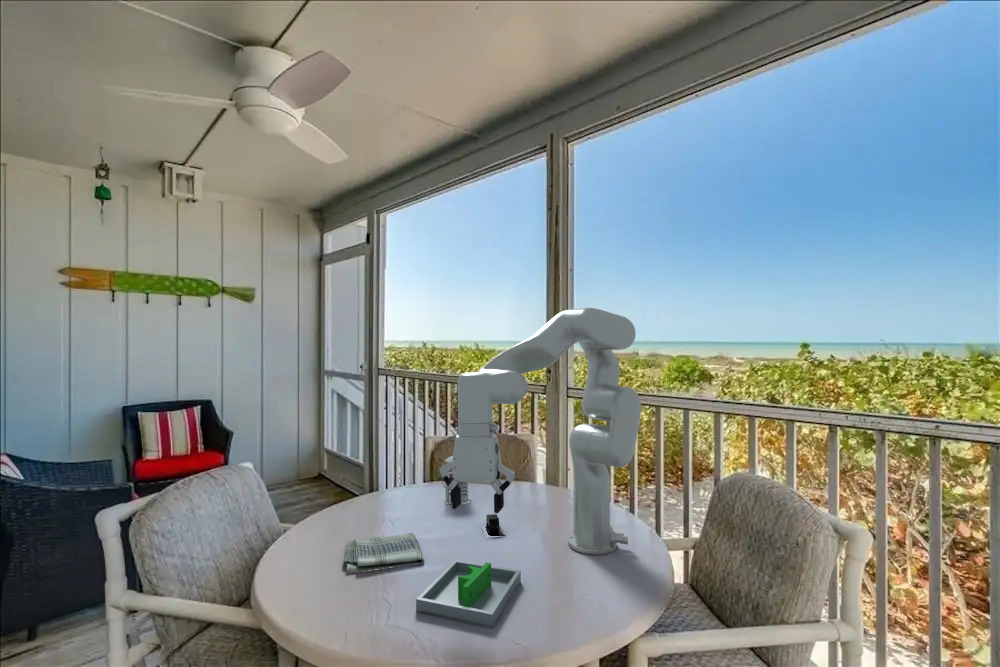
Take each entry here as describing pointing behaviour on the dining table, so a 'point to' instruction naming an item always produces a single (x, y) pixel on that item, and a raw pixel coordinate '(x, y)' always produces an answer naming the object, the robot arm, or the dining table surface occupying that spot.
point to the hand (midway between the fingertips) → (477, 508)
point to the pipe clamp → (474, 584)
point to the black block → (493, 525)
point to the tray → (486, 608)
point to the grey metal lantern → (462, 485)
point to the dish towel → (382, 553)
